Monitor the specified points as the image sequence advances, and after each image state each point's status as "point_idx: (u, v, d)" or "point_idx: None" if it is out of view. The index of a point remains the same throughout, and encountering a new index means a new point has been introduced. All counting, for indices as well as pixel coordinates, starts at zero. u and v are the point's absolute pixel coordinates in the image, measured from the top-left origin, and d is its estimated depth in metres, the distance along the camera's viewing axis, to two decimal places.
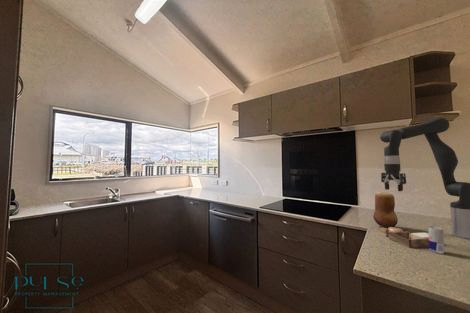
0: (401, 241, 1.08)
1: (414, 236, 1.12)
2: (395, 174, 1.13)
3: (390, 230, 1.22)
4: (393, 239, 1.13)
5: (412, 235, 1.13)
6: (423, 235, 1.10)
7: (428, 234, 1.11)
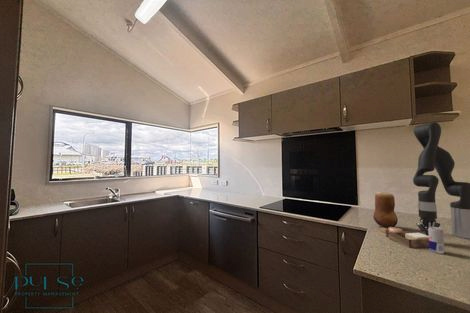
0: (401, 241, 1.08)
1: (408, 236, 1.12)
2: (434, 223, 1.11)
3: (390, 230, 1.22)
4: (393, 239, 1.13)
5: (406, 235, 1.13)
6: (417, 235, 1.10)
7: (422, 234, 1.11)
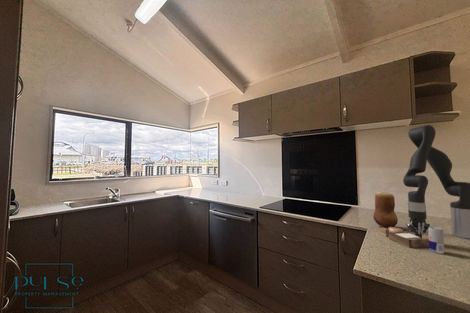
0: (401, 241, 1.08)
1: None
2: (424, 224, 1.10)
3: (390, 230, 1.22)
4: (393, 239, 1.13)
5: None
6: (406, 236, 1.10)
7: (411, 235, 1.11)
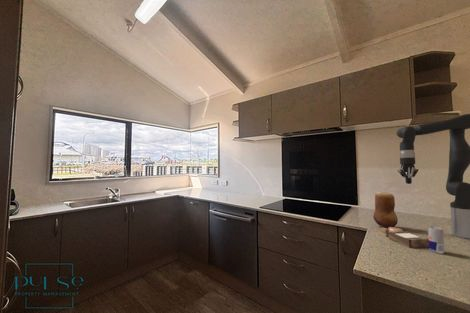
0: (401, 241, 1.08)
1: None
2: (413, 169, 1.26)
3: (390, 230, 1.22)
4: (393, 239, 1.13)
5: None
6: (406, 236, 1.10)
7: (411, 235, 1.11)
